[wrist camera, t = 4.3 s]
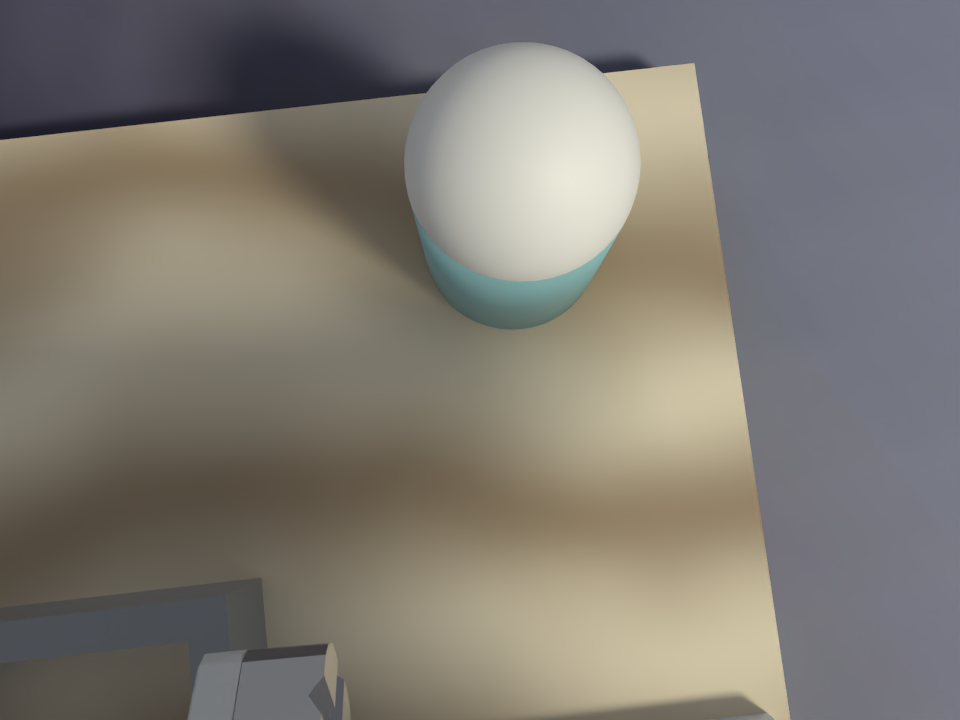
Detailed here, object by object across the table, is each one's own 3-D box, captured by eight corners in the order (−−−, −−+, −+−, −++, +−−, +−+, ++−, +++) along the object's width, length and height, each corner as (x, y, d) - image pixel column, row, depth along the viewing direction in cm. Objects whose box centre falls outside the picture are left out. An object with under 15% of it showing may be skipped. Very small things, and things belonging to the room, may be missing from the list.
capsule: (609, 319, 22) (678, 239, 14) (435, 339, 22) (407, 268, 14) (587, 150, 22) (642, -19, 15) (416, 169, 22) (379, 10, 15)
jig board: (796, 887, 22) (819, 918, 20) (-41, 986, 22) (-80, 1025, 20) (681, 87, 24) (694, 63, 23) (-79, 172, 24) (-116, 152, 23)
